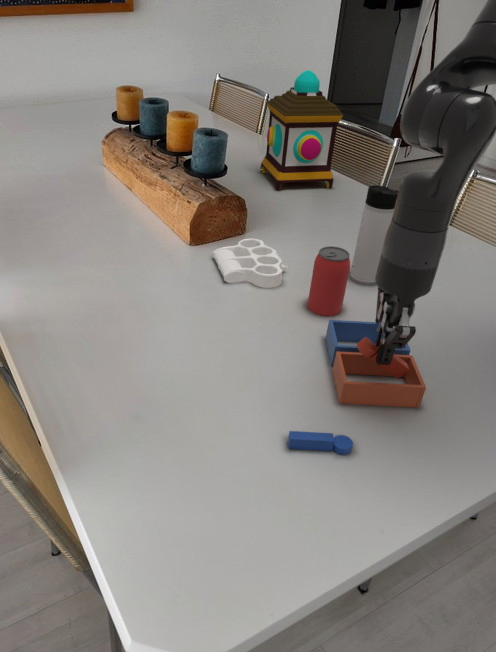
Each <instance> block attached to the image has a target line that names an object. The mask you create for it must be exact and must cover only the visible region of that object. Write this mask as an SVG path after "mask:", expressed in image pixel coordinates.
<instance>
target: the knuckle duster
mask: <svg viewBox="0 0 496 652" xmlns="http://www.w3.org/2000/svg"><path fill="white" fill-rule="evenodd" d="M280 256H281V255H280V254H279V253H278V251H277V250H276V249H274V248H273V247H271V246H268V245H266V244H265V243H264V241H263V240H261V239H259V238H243V239H241V240H239V241H238V243H237V244H236V245H229V246H223V247H219V248H216V249H214V250H213V252H212V257H213V259H214V260H215V262H216V264H217V268H218V270H219V271H220V273H221V275H222V277H223V281H224V282H226V283H228V284H235V283H242V282H243V283H245V282H246V283H251V284H252V285H254V286H256V287H258V288H262V289H273V288H277V287H279V286H280V285H281V284H282V278H283V272H284V271H283V270H286V269H289V267H288V266H287V265H285V264H283V261H282V257H280Z"/></svg>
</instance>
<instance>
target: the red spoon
mask: <svg viewBox="0 0 496 652" xmlns="http://www.w3.org/2000/svg"><path fill="white" fill-rule="evenodd" d="M379 345H380V344H379ZM379 345H378V346H377V347H376V346H375V343H373V342H372V341H371V340H370V339H368V338H367V337H364V338H363V339H362V340H361V341H360V342H356V346H357V348H358V350H359V351H360V352H361V353H362V354H363V355H364V356H365V357H367V358H370V359H371V360H373V361H374V362H375V363H376V358H377V354H378V348H379ZM379 366H381V367H382V368H383V369H385V370H386V371H387V372H389V373H390V374H391V375H393V376H392V377H394V378H395V379H397V380H399V378H401V377H400V376H402V375H403V374H404V373H406V372H407V371H408V370H409V367H408V365H407V363H406V362H404V361H403V360H402V359H401V358H399V357H398V356H397V355H395V354H394V355H393V358H392V361H391V364H389V365H379Z"/></svg>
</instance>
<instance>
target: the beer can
mask: <svg viewBox="0 0 496 652" xmlns="http://www.w3.org/2000/svg"><path fill="white" fill-rule="evenodd" d="M350 256H351V254H350V252H349V251H348V250H346V248H342V247H340V246H339V247H338V246H324V247H322V248H320V249H319V250H318V254H317V255H316V257H315V259H314V261H313V268H312V275H311V279H310V285H309V286H310V287H309V292H308V297H307V299H308V300H307V308H308V310H309V311H310V312H311V313H313V314H315V315H318V316H321V317H334V316H337V315H338V314H340V313H341V311H342V309H343V304H344V299H345V295H346V290H347V285H348V281H349V277H350V272H351V260H350V259H351V258H350Z"/></svg>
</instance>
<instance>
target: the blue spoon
mask: <svg viewBox="0 0 496 652" xmlns="http://www.w3.org/2000/svg"><path fill="white" fill-rule="evenodd" d="M287 446H288V447H287V448H288V449H289V450H304V451H305V450H306V451H325V452H334V453H336V454H338V455H341V456H346V455H349V454H350V453H351V452H352V450H353V446H354V442H353V440H352V439H351V438H350V437H349V436H347V435H344V434H338V435H335V436H334V433H332V432H316V431H315V432H314V431H297V430H296V431H295V430H289V432H288V438H287Z"/></svg>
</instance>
